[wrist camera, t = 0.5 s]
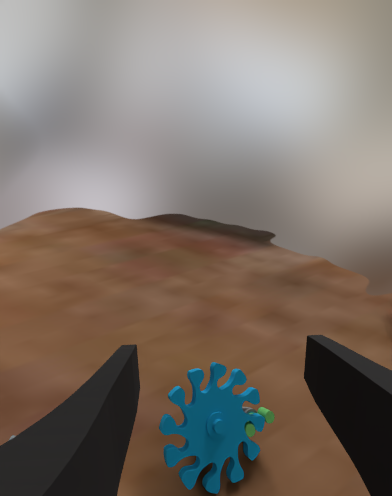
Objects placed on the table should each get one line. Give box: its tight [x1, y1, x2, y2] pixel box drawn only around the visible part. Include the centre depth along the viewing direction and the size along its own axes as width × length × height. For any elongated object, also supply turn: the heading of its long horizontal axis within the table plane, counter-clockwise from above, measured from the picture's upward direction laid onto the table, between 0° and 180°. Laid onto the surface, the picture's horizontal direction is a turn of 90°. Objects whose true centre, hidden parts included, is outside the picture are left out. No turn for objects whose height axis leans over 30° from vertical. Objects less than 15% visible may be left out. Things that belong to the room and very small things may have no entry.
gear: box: [159, 362, 274, 494], centre depth 26 cm, size 11×6×10 cm
